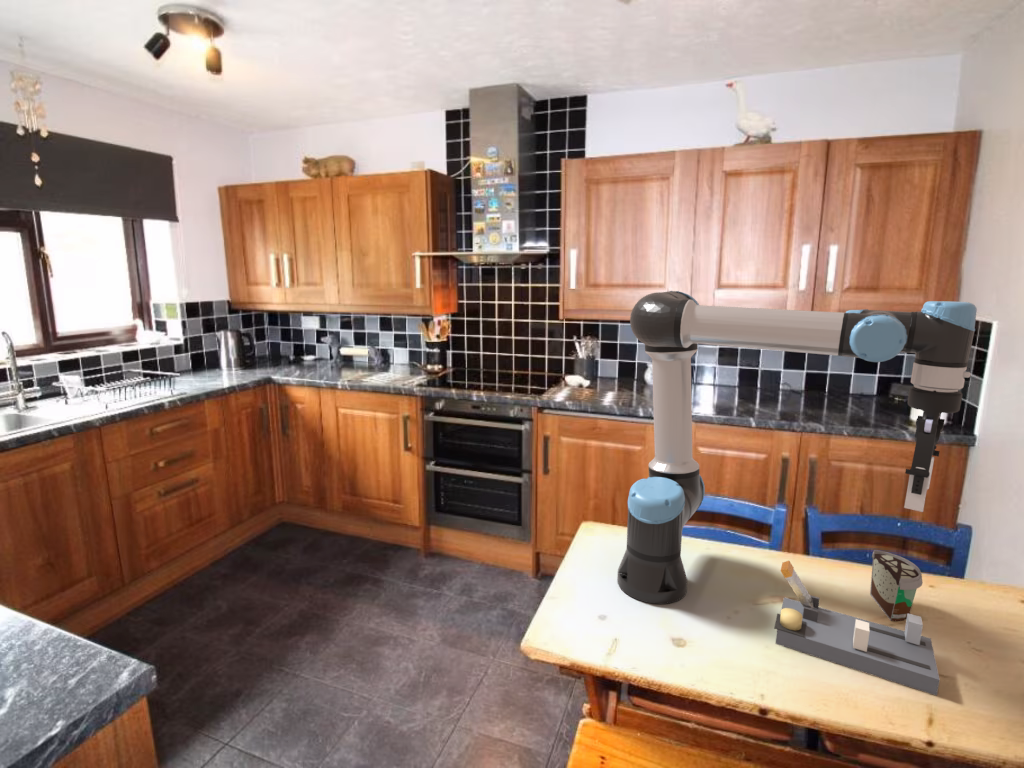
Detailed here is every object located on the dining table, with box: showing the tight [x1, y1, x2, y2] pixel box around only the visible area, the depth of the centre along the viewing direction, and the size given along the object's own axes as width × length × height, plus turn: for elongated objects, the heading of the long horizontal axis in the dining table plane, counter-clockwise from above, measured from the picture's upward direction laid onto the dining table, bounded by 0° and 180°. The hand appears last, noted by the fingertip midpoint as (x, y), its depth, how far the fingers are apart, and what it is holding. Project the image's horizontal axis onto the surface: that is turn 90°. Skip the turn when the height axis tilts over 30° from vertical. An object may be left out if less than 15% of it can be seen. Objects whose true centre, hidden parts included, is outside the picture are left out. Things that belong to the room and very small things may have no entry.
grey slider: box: [904, 613, 924, 645], centre depth 96 cm, size 2×3×4 cm
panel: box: [774, 594, 941, 696], centre depth 98 cm, size 24×12×5 cm, turn 58°
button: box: [780, 608, 803, 631], centre depth 100 cm, size 4×4×2 cm
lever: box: [780, 560, 815, 609], centre depth 104 cm, size 1×4×10 cm
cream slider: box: [853, 619, 870, 652], centre depth 94 cm, size 2×3×4 cm
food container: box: [869, 549, 923, 623], centre depth 109 cm, size 12×6×10 cm, turn 168°
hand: (917, 497), depth 100 cm, fingers open, 13 cm apart
